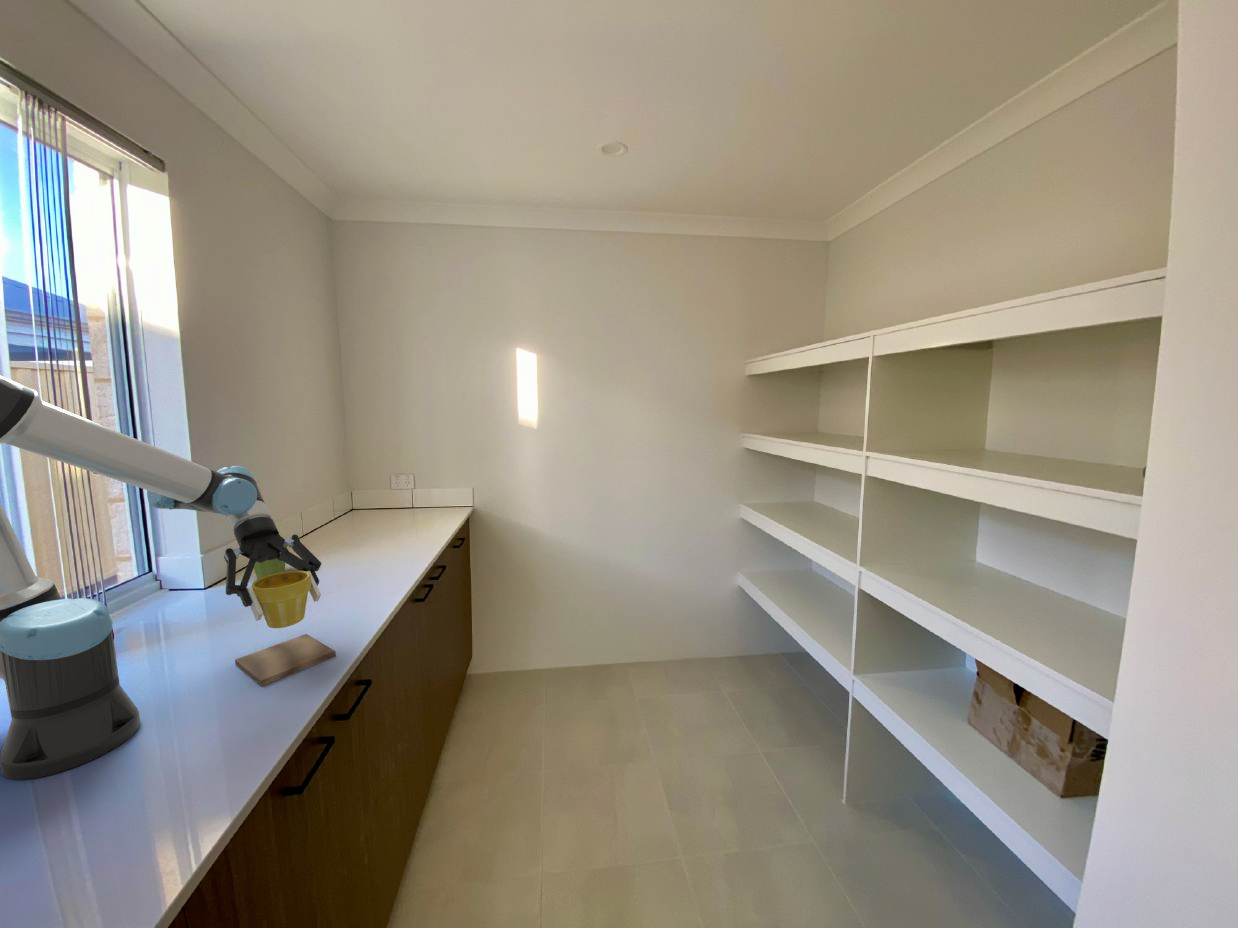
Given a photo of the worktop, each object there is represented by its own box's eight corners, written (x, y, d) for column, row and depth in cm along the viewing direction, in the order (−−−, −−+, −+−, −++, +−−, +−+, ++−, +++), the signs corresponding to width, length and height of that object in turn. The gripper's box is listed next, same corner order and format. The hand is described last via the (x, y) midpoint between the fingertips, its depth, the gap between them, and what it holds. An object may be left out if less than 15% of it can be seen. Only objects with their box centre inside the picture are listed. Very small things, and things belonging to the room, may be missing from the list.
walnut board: (261, 686, 95) (260, 680, 95) (235, 664, 103) (234, 659, 103) (335, 655, 107) (335, 650, 107) (306, 638, 115) (306, 633, 114)
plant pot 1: (269, 569, 162) (266, 537, 161) (301, 571, 160) (298, 538, 159) (237, 582, 150) (233, 548, 149) (271, 584, 149) (267, 549, 147)
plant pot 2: (285, 635, 99) (280, 589, 97) (243, 630, 101) (238, 586, 99) (325, 613, 109) (321, 571, 107) (287, 609, 111) (282, 568, 109)
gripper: (304, 524, 120) (340, 597, 114) (185, 547, 102) (220, 637, 95) (312, 506, 117) (350, 581, 110) (190, 526, 98) (227, 618, 91)
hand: (290, 607), depth 102 cm, fingers closed on plant pot 2, 10 cm apart
